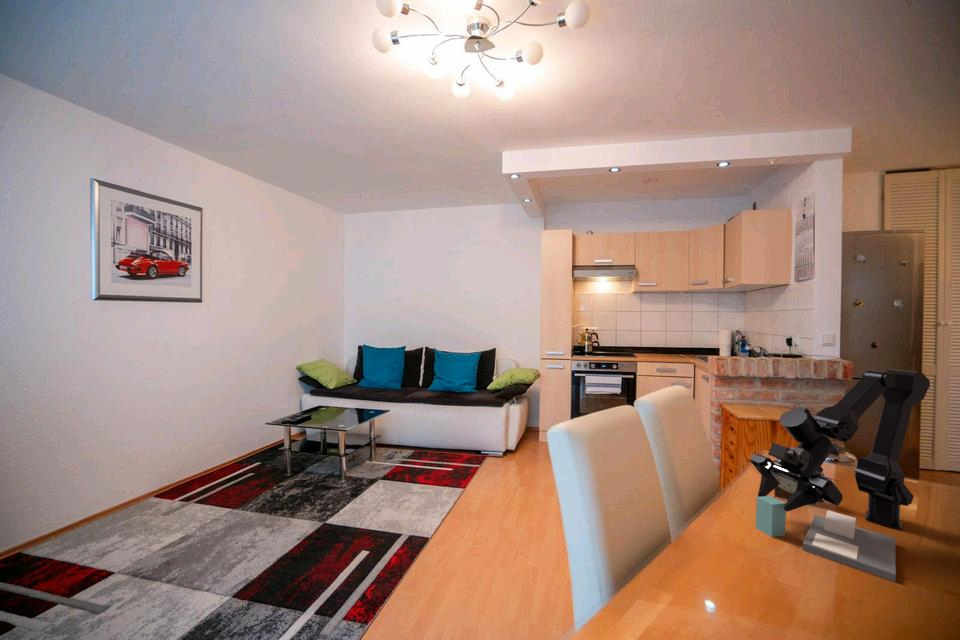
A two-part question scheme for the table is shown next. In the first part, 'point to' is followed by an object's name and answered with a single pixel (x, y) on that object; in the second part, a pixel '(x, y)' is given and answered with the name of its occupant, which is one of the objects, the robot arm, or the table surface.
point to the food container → (788, 486)
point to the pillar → (770, 516)
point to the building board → (851, 545)
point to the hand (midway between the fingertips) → (771, 503)
